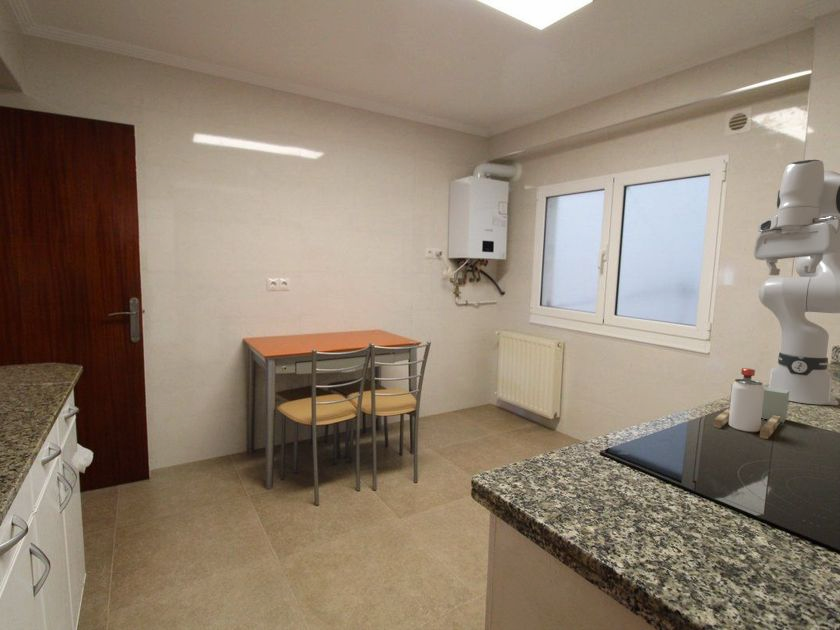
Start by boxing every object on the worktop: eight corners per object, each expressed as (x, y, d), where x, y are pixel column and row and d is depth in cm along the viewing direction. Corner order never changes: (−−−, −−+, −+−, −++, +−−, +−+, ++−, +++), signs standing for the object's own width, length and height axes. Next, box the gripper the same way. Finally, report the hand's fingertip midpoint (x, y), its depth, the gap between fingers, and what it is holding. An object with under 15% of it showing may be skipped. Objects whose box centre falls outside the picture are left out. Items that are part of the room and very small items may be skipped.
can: (749, 424, 115) (754, 379, 114) (766, 433, 108) (771, 385, 107) (722, 423, 115) (727, 377, 114) (738, 432, 109) (742, 384, 108)
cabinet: (733, 408, 129) (735, 381, 128) (786, 419, 120) (789, 390, 119) (729, 412, 125) (731, 384, 125) (783, 423, 117) (786, 393, 116)
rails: (729, 413, 124) (730, 406, 124) (779, 424, 116) (780, 416, 116) (713, 426, 112) (713, 418, 112) (767, 439, 104) (768, 431, 104)
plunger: (740, 393, 127) (743, 367, 126) (753, 396, 124) (756, 369, 124) (737, 395, 125) (740, 369, 124) (751, 397, 122) (753, 371, 122)
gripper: (851, 216, 107) (845, 273, 107) (771, 229, 127) (765, 277, 127) (830, 212, 106) (823, 269, 106) (752, 226, 126) (746, 275, 126)
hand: (791, 274), depth 117 cm, fingers open, 8 cm apart
